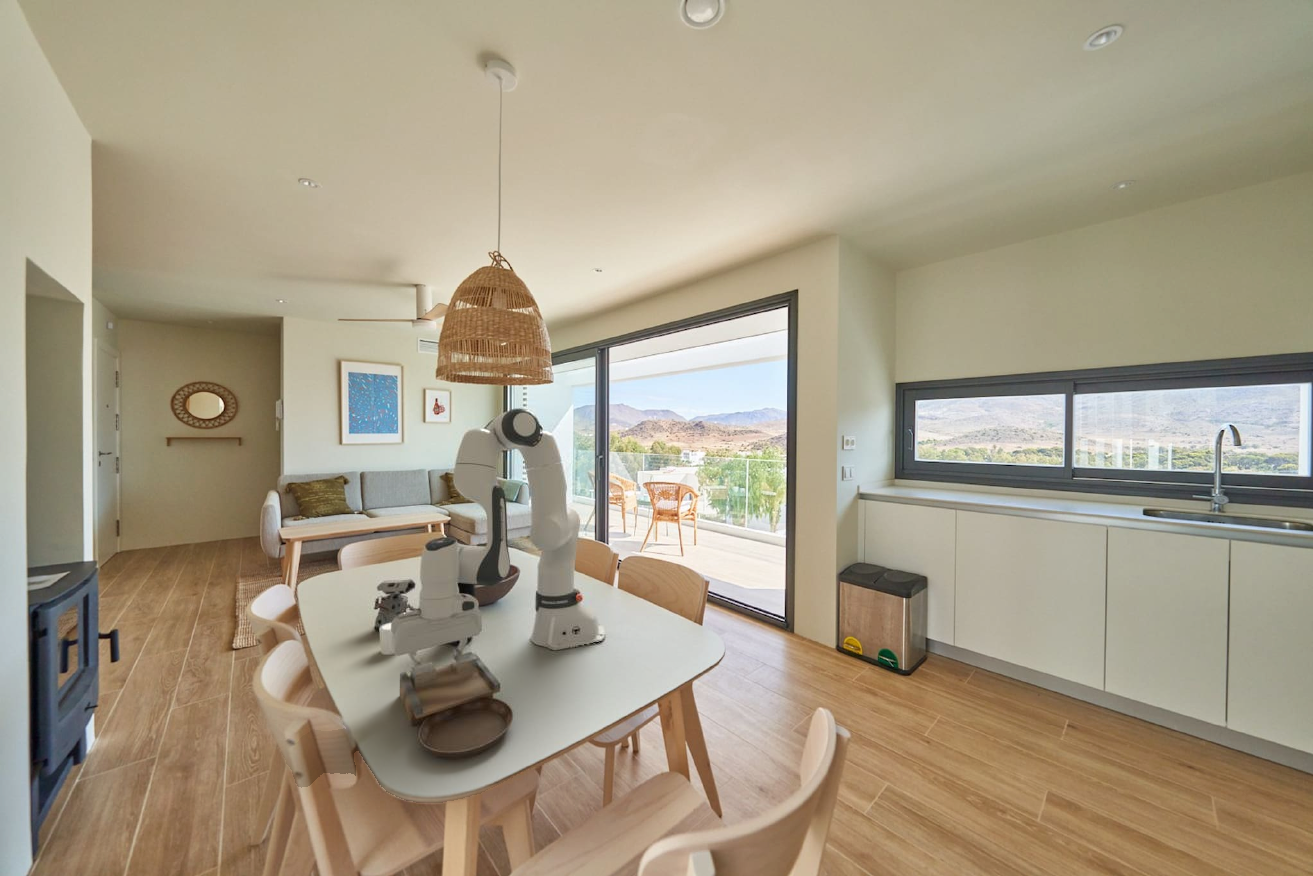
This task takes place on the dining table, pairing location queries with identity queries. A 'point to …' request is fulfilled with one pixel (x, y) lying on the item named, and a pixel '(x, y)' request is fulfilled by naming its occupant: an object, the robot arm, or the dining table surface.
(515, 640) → the dining table surface
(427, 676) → the off-white small block
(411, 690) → the brown and grey tray
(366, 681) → the dining table surface
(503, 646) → the dining table surface
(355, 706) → the dining table surface
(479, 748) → the plant saucer
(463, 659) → the silver block
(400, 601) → the figurine
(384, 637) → the white cylinder
